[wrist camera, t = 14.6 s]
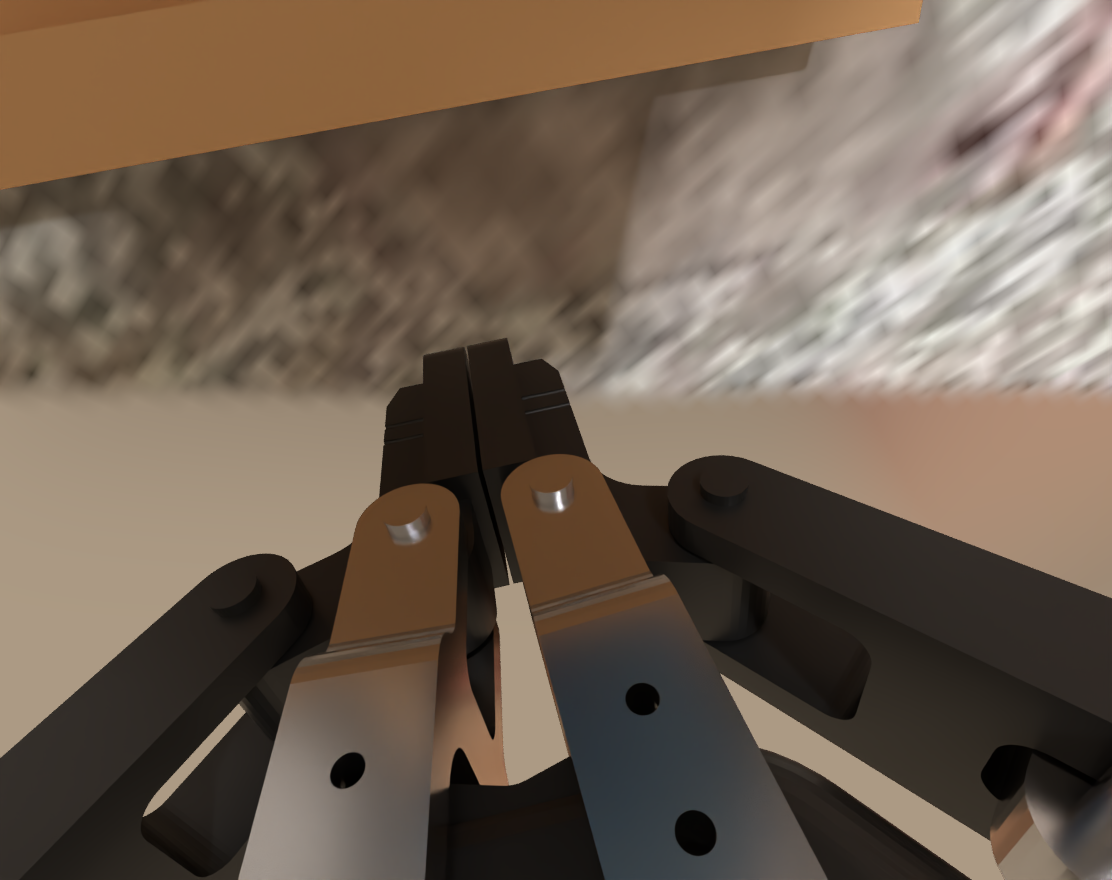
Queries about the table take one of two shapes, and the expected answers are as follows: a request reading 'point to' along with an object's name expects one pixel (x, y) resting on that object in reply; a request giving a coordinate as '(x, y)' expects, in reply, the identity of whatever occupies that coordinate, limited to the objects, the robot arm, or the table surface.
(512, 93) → the press bed carriage
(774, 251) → the table surface
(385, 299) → the table surface
